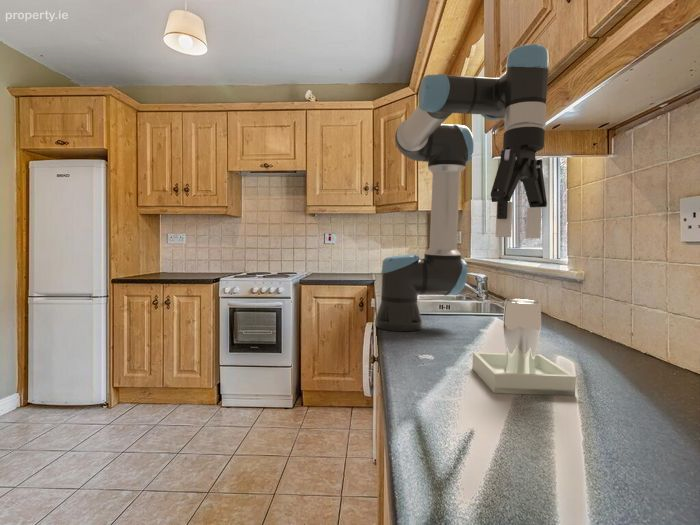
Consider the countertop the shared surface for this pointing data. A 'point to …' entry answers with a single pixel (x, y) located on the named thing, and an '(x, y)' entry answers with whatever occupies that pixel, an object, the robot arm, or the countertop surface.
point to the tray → (523, 376)
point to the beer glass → (521, 334)
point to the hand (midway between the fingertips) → (518, 237)
